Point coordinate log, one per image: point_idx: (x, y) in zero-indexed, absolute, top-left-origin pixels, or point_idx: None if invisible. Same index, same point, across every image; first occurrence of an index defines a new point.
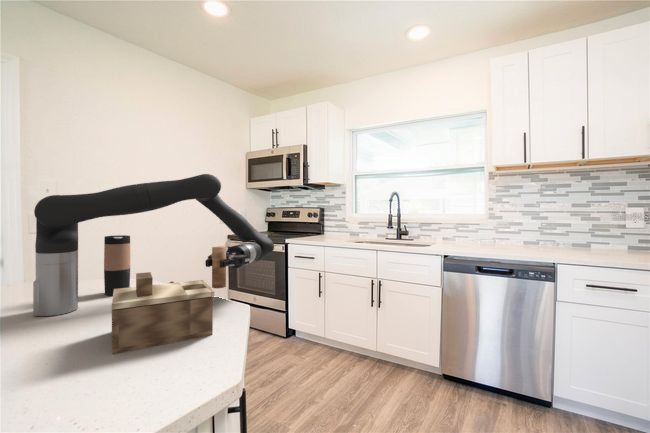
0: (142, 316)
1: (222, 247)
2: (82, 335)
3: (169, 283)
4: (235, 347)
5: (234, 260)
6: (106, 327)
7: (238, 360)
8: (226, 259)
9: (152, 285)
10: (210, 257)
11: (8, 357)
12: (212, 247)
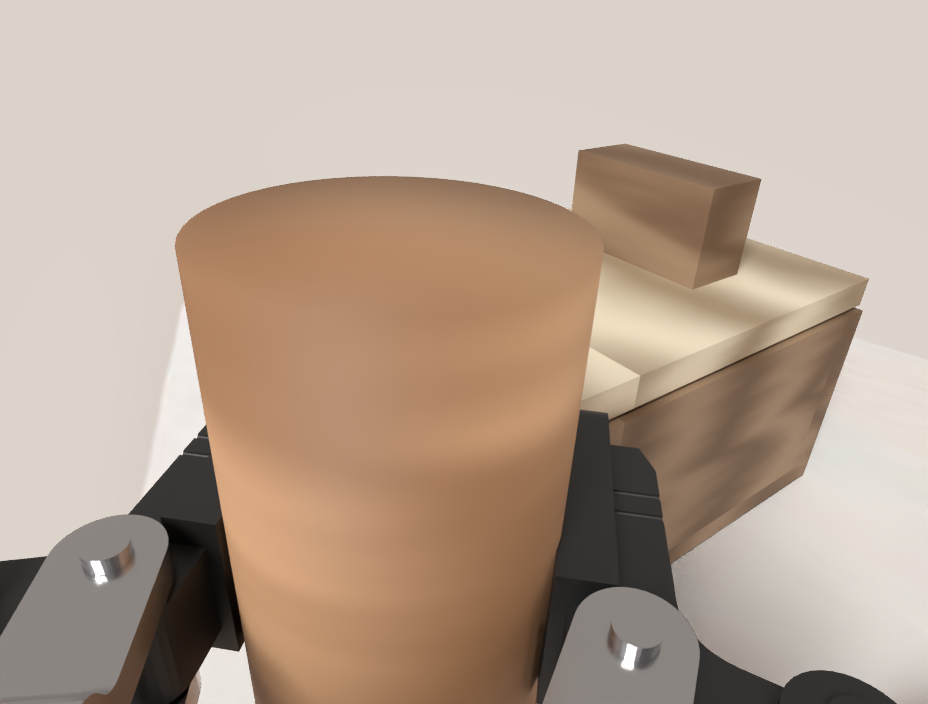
0: None
1: (284, 216)
2: (877, 441)
3: (683, 353)
4: (188, 394)
5: (1, 578)
6: (898, 507)
7: (179, 344)
8: (208, 465)
9: (574, 191)
10: (777, 699)
11: (866, 343)
12: (565, 214)
